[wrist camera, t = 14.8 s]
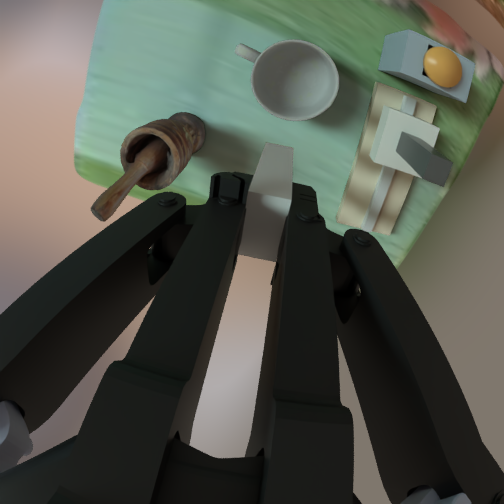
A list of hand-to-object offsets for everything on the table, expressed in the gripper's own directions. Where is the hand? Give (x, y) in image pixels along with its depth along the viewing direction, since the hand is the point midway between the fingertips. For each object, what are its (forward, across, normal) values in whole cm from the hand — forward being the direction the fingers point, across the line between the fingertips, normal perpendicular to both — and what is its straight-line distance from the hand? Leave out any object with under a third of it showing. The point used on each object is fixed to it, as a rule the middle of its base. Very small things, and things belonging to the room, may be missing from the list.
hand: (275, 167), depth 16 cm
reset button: (+25, +17, +12) cm, 33 cm away
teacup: (+30, -1, +5) cm, 30 cm away
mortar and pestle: (+30, -16, -9) cm, 35 cm away
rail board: (+29, +17, -5) cm, 34 cm away
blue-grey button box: (+29, +17, +12) cm, 36 cm away
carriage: (+27, +17, 0) cm, 32 cm away
